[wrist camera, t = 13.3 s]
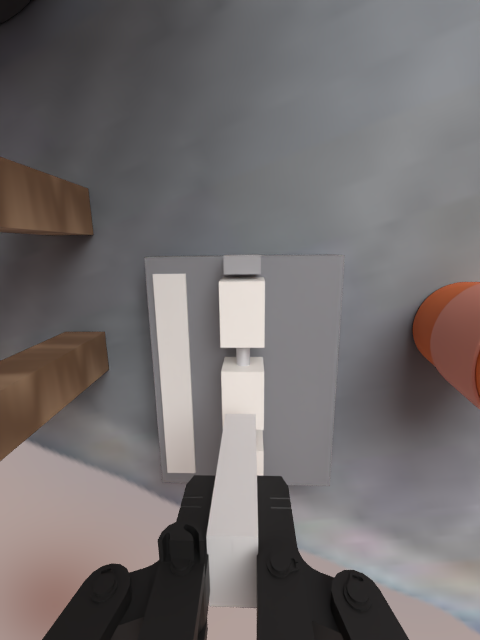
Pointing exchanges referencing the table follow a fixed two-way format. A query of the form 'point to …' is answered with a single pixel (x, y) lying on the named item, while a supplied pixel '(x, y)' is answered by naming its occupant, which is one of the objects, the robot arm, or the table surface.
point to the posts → (62, 350)
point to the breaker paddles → (243, 351)
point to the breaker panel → (278, 356)
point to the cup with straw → (452, 335)
